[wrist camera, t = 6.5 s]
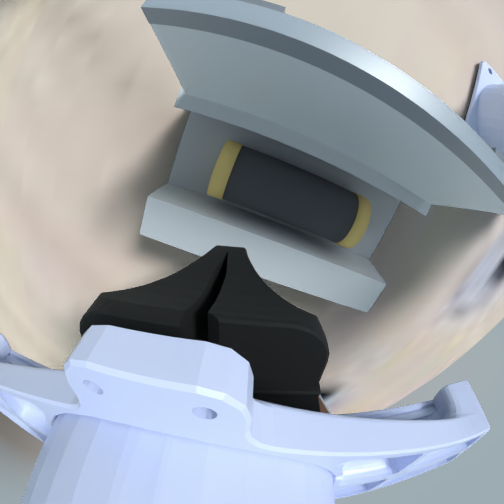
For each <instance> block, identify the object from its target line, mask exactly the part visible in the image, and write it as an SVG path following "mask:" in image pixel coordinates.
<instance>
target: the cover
mask: <svg viewBox="0 0 504 504" xmlns="http://www.w3.org/2000/svg"><path fill="white" fill-rule="evenodd" d="M285 8H286V7H283V6H280V5H276V4H273V3H270V2H266V1H263V0H146V1H145V2H144V3H143V5H142V6H141V9H142V10H143V12H144V14H145V16H146V18H147V20H148V22H149V23H150V24H151V26H152V28H153V30H154V32H155V34H156V36H157V38H158V40H159V42H160V44H161V46H162V48H163V50H164V52H165V54H166V56H167V57H168V59H169V61H170V63H171V65H172V67H173V69H174V71H175V73H176V75H177V77H178V79H179V81H180V83H181V85H182V87H183V89H184V91H185V93H186V94H187V95H191V96H194V97H198V98H202V99H205V100H209V101H212V102H215V103H219V104H222V105H225V106H228V107H231V108H235V109H238V110H241V111H243V112H246V113H249V114H252V115H255V116H258V117H260V118H263V119H266V120H268V121H271V122H274V123H276V124H279V125H281V126H284V127H286V128H289V129H291V130H293V131H296V132H298V133H300V134H303V135H305V136H307V137H310V138H312V139H314V140H316V141H318V142H321V143H323V144H325V145H327V146H329V147H331V148H333V149H335V150H337V151H339V152H341V153H343V154H345V155H347V156H349V157H351V158H353V159H355V160H357V161H359V162H361V163H363V164H364V165H366V166H368V167H370V168H372V169H374V170H375V171H377V172H379V173H381V174H382V175H384V176H386V177H388V178H389V179H391V180H393V181H394V182H396V183H398V184H399V185H401V186H403V187H404V188H406V189H407V190H409V191H411V192H412V193H414V194H415V195H417V196H418V197H420V198H421V199H423V200H424V201H426V202H427V203H429V204H432V205H441V206H449V207H457V208H465V209H472V210H479V211H485V212H492V213H498V214H504V157H503V155H502V154H501V153H500V152H499V151H498V149H497V148H496V147H495V148H490V147H489V146H488V145H487V144H486V142H485V141H484V140H483V139H482V138H481V137H480V136H479V135H478V134H477V133H476V132H475V131H474V130H473V129H472V128H471V127H470V126H469V125H468V124H467V123H466V122H465V121H464V120H463V119H462V118H461V117H460V116H458V115H457V114H456V113H455V112H454V111H453V110H452V109H451V108H449V107H448V106H447V105H446V104H445V103H444V102H442V101H441V100H440V99H439V98H438V97H436V96H435V95H434V94H433V93H431V92H430V91H429V90H428V89H426V88H425V87H424V86H422V85H421V84H420V83H418V82H417V81H416V80H414V79H413V78H411V77H410V76H408V75H407V74H406V73H404V72H403V71H401V70H400V69H398V68H397V67H395V66H394V65H392V64H390V63H389V62H387V61H386V60H384V59H382V58H381V57H379V56H377V55H376V54H374V53H372V52H370V51H369V50H367V49H365V48H363V47H361V46H359V45H358V44H356V43H354V42H352V41H350V40H348V39H346V38H344V37H342V36H340V35H337V34H335V33H333V32H331V31H329V30H326V29H324V28H322V27H319V26H317V25H315V24H312V23H310V22H307V21H305V20H302V19H299V18H296V17H294V16H291V15H288V14H285V13H284V12H285Z"/></svg>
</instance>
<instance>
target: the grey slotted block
mask: <svg viewBox="0 0 504 504" xmlns="http://www.w3.org/2000/svg"><path fill="white" fill-rule="evenodd" d="M174 107H176V108H180V109H184V110H188V111H191V112H190V115H189V118H188V121H187V124H186V127H185V129H184V132H183V135H182V138H181V141H180V144H179V147H178V151H177V154H176V157H175V160H174V163H173V167H172V170H171V174H170V177H169V180H168V183H167V184H165V185H163V186H162V187H160V188H159V189H157V190H156V191H154V192H153V193H151V194H150V195H148V197H147V201H146V205H145V210H144V214H143V219H142V224H141V229H140V234H141V235H144V236H146V237H149V238H152V239H154V240H157V241H160V242H162V243H165V244H168V245H171V246H173V247H176V248H179V249H181V250H184V251H187V252H190V253H192V254H195V255H198V256H201V257H202V256H203V255H205V254H206V253H207V252H208V251H210V250H211V249H212V248H214V247H215V246H216V245H220V246H232V247H244V248H245V249H246V250H247V254H248V257H249V259H250V261H251V263H252V265H253V267H254V269H255V270H256V272H257V273H258V275H259V276H260V277H261V278H263V279H266V280H269V281H272V282H275V283H278V284H281V285H284V286H287V287H290V288H293V289H296V290H299V291H302V292H305V293H308V294H311V295H314V296H317V297H320V298H323V299H326V300H329V301H332V302H335V303H338V304H341V305H344V306H348V307H351V308H354V309H357V310H360V311H363V312H366V313H367V312H368V311H369V309H370V308H371V307H372V305H373V304H374V302H375V301H376V299H377V298H378V296H379V295H380V293H381V292H382V290H383V289H384V287H385V286H386V283H385V282H384V280H383V279H382V277H381V276H380V274H379V273H378V271H377V270H376V268H375V267H374V265H373V264H372V263H371V261H370V260H369V259H370V257H371V255H372V254H373V252H374V250H375V248H376V247H377V245H378V243H379V241H380V240H381V238H382V236H383V234H384V232H385V230H386V229H387V227H388V225H389V223H390V221H391V219H392V217H393V215H394V213H395V211H396V209H397V207H398V205H399V203H400V201H401V202H403V203H405V204H406V205H408V206H410V207H411V208H413V209H414V210H416V211H418V212H419V213H421V214H422V215H424V216H426V215H427V213H428V211H429V209H430V207H431V205H432V204H429V203H427V202H426V201H424V200H423V199H421V198H420V197H418V196H417V195H415V194H414V193H412V192H411V191H409V190H407V189H406V188H404V187H403V186H401V185H399V184H398V183H396V182H394V181H393V180H391V179H389V178H388V177H386V176H384V175H382V174H381V173H379V172H377V171H375V170H374V169H372V168H370V167H368V166H366V165H364V164H363V163H361V162H359V161H357V160H355V159H353V158H351V157H349V156H347V155H345V154H343V153H341V152H339V151H337V150H335V149H333V148H331V147H329V146H327V145H325V144H323V143H321V142H318V141H316V140H314V139H312V138H310V137H307V136H305V135H303V134H300V133H298V132H296V131H293V130H291V129H289V128H286V127H284V126H281V125H279V124H276V123H274V122H271V121H268V120H266V119H263V118H260V117H258V116H255V115H252V114H249V113H246V112H243V111H241V110H238V109H235V108H231V107H228V106H225V105H222V104H219V103H215V102H212V101H209V100H205V99H202V98H198V97H194V96H191V95H187V94H186V93H185V91H184V89H183V88H182V87H181V89H180V92H179V95H178V97H177V100H176V103H175V106H174ZM227 140H231V141H234V142H237V143H239V144H242V145H243V146H245V147H248V148H251V149H253V150H256V151H259V152H261V153H264V154H266V155H269V156H272V157H274V158H277V159H279V160H282V161H284V162H287V163H289V164H291V165H294V166H296V167H299V168H301V169H303V170H306V171H308V172H310V173H312V174H315V175H317V176H319V177H321V178H324V179H326V180H328V181H330V182H332V183H334V184H336V185H339V186H341V187H343V188H345V189H347V190H349V191H351V192H355V193H357V194H359V195H361V196H363V197H365V198H367V199H368V200H369V201H370V203H371V217H370V221H369V224H368V227H367V229H366V232H365V233H364V235H363V237H362V238H361V240H360V241H359V242H358V243H357V244H356V245H355V246H354V247H352V248H345V247H342V246H340V245H338V244H335V243H333V241H330V240H328V239H325V238H323V237H321V236H318V235H316V234H313V233H311V232H308V231H306V230H303V229H301V228H298V227H296V226H293V225H291V224H288V223H285V222H283V221H280V220H278V219H275V218H272V217H270V216H267V215H265V214H262V213H259V212H257V211H254V210H251V209H249V208H246V207H243V206H240V205H238V204H235V203H232V202H229V201H227V200H224V199H222V200H221V199H218V198H216V197H213V196H210V195H207V190H208V186H209V182H210V179H211V176H212V173H213V170H214V167H215V165H216V162H217V160H218V157H219V155H220V153H221V150H222V148H223V146H224V145H225V143H226V141H227Z"/></svg>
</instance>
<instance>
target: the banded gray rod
mask: <svg viewBox="0 0 504 504" xmlns="http://www.w3.org/2000/svg"><path fill="white" fill-rule="evenodd" d="M207 195H210V196H213V197H216V198H218V199H221V200H222V199H224V200H227V201H229V202H232V203H235V204H238V205H240V206H243V207H246V208H249V209H251V210H254V211H257V212H259V213H262V214H265V215H267V216H270V217H272V218H275V219H278V220H280V221H283V222H285V223H288V224H291V225H293V226H296V227H298V228H301V229H303V230H306V231H308V232H311V233H313V234H316V235H318V236H321V237H323V238H325V239H328V240H330V241H333V243H335V244H338V245H340V246H342V247H345V248H352V247H354V246H355V245H356V244H357V243H358V242H359V241H360V240H361V238H362V237H363V235H364V233H365V232H366V229H367V227H368V224H369V221H370V217H371V203H370V201H369V200H368V199H367V198H365V197H363V196H361V195H359V194H357V193H355V192H351V191H349V190H347V189H345V188H343V187H341V186H339V185H336V184H334V183H332V182H330V181H328V180H326V179H324V178H321V177H319V176H317V175H315V174H312V173H310V172H308V171H306V170H303V169H301V168H299V167H296V166H294V165H291V164H289V163H287V162H284V161H282V160H279V159H277V158H274V157H272V156H269V155H266V154H264V153H261V152H259V151H256V150H253V149H251V148H248V147H245V146H243V145H242V144H239V143H237V142H234V141H231V140H227V141H226V143H225V145H224V146H223V148H222V150H221V153H220V155H219V157H218V160H217V162H216V165H215V167H214V170H213V173H212V176H211V179H210V182H209V186H208V190H207Z"/></svg>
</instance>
